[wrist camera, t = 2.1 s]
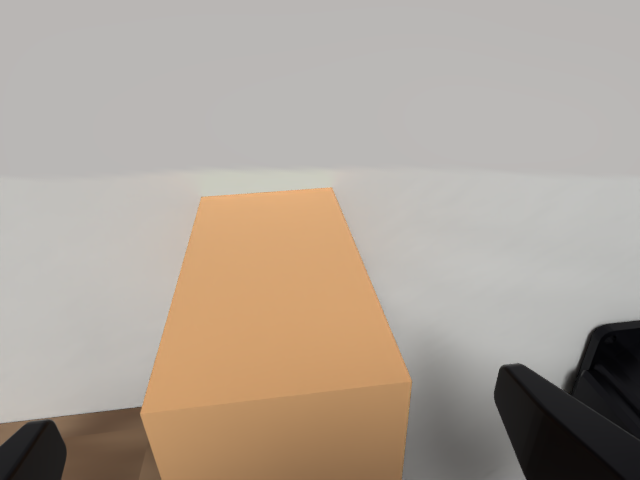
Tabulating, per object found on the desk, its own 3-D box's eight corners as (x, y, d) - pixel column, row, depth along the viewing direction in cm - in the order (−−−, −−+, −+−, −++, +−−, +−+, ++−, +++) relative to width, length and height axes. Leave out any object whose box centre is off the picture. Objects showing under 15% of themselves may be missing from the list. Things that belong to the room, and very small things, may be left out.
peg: (331, 187, 14) (411, 380, 7) (333, 292, 15) (396, 528, 9) (201, 197, 13) (140, 413, 6) (219, 303, 15) (187, 560, 8)
